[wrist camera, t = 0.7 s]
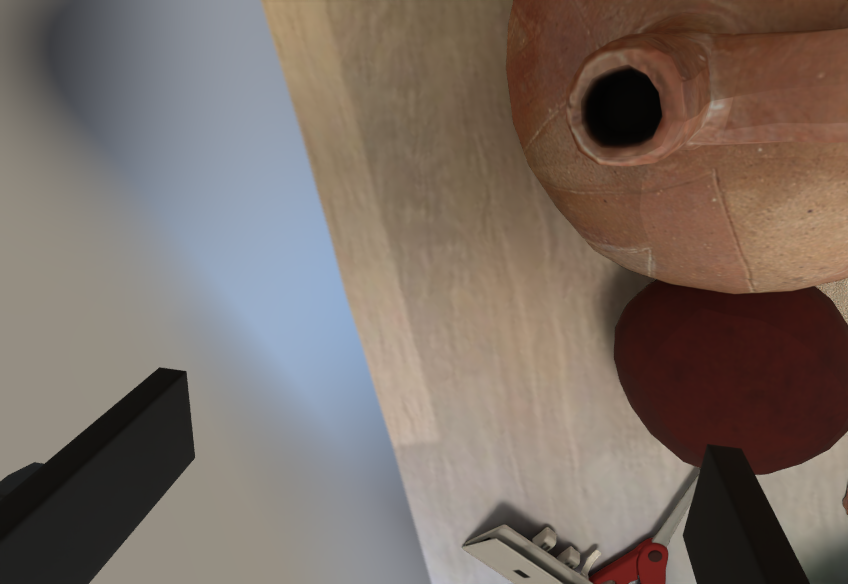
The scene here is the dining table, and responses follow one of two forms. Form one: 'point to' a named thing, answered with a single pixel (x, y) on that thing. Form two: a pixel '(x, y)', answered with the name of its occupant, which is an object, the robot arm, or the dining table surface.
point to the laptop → (520, 559)
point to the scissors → (647, 552)
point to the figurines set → (566, 553)
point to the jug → (691, 133)
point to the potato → (736, 371)
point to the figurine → (846, 502)
